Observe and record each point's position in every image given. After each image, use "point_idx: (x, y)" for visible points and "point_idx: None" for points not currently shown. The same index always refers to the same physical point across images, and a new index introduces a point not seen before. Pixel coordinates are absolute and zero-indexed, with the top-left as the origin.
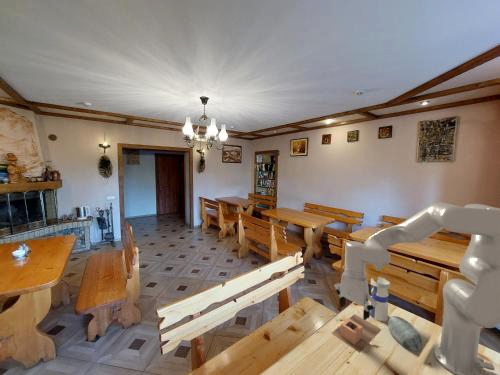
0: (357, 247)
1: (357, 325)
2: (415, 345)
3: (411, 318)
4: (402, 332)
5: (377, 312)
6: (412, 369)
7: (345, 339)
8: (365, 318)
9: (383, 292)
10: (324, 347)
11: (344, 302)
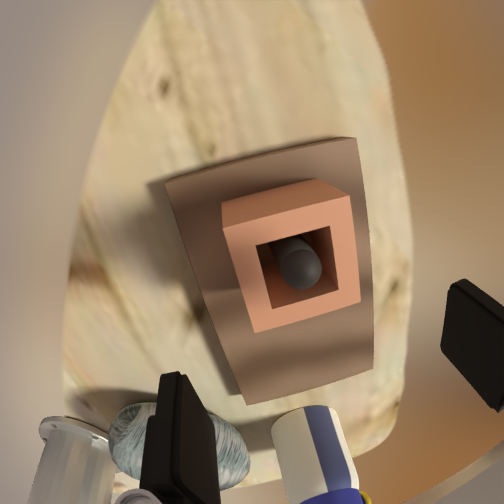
0: None
1: (279, 310)
2: (109, 431)
3: (250, 483)
4: None
5: (303, 450)
6: (66, 343)
7: (278, 181)
8: (165, 394)
9: None
10: (299, 38)
11: (465, 354)
